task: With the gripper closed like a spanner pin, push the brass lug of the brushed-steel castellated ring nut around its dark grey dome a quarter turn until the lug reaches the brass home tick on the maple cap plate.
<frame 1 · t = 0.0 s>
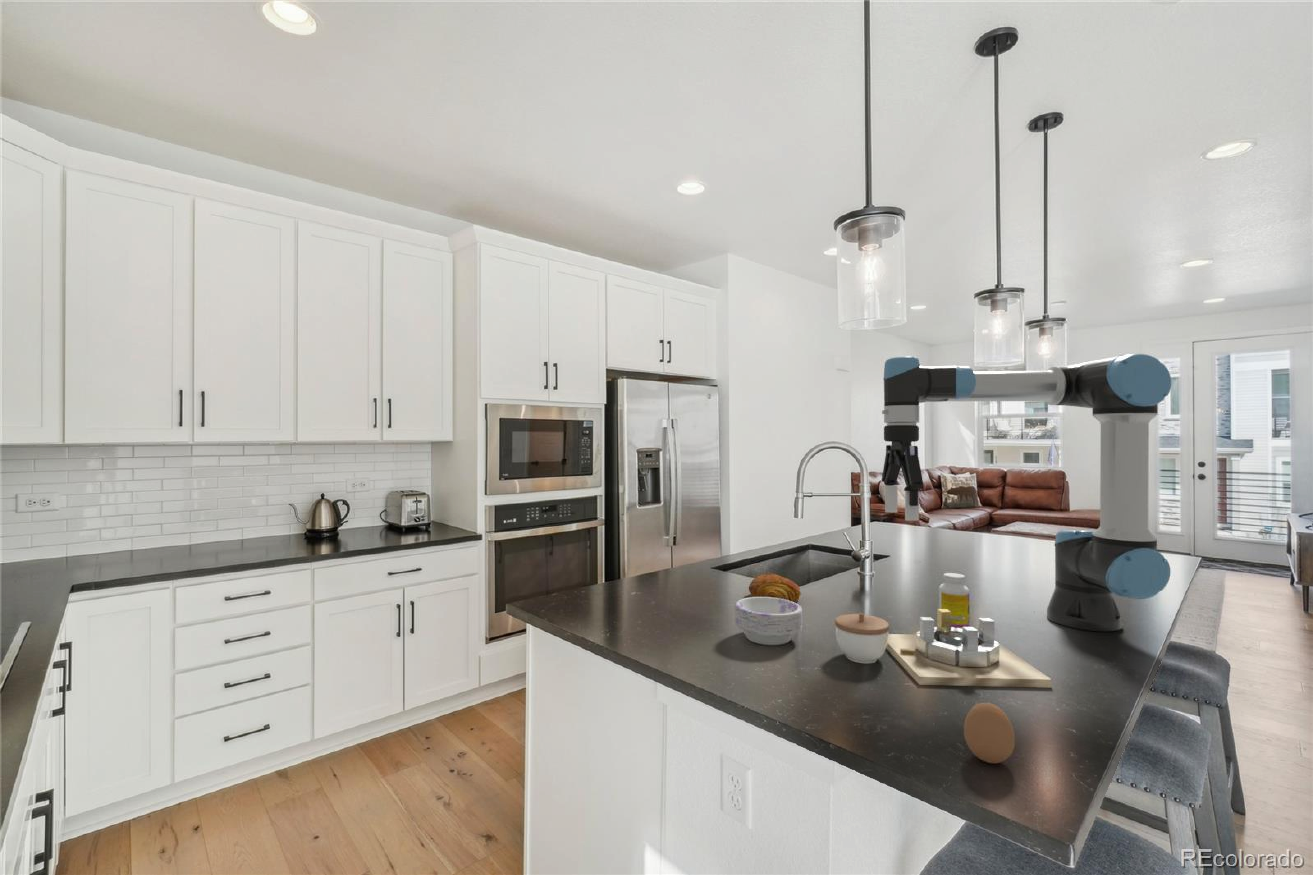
hand: (901, 516, 138), 28 cm above the counter, fingers open, 13 cm apart
dark grey dome: (956, 645, 123), point 3 cm above the counter
lidded jar: (861, 659, 125), on the counter
supplement bottle: (954, 628, 145), on the counter
egg: (988, 762, 86), on the counter
croissant: (774, 600, 170), on the counter
ring nut: (956, 636, 123), point 5 cm above the counter, hinge at 0.0°
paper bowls: (768, 639, 137), on the counter
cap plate: (956, 661, 123), on the counter
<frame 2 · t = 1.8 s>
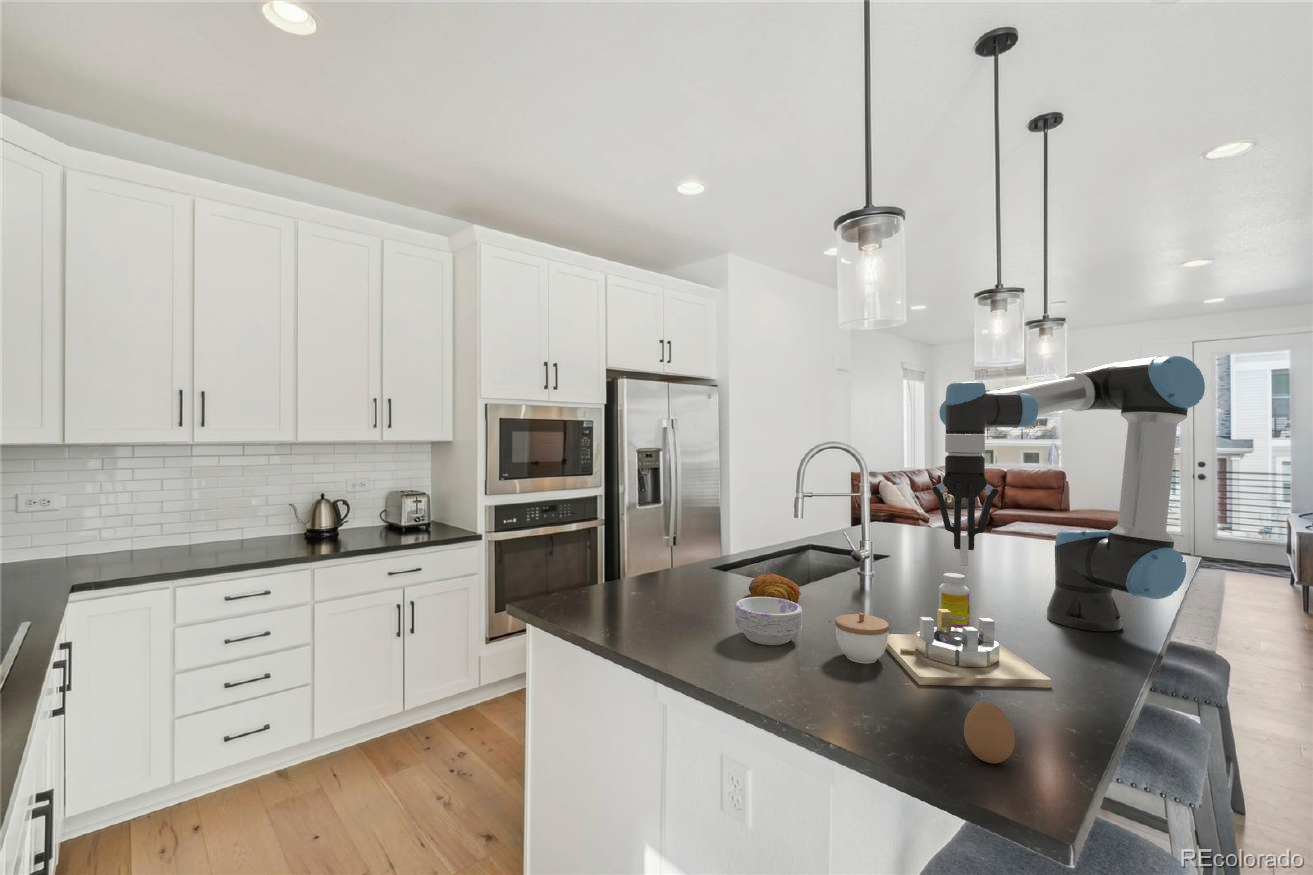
hand: (963, 564, 127), 19 cm above the counter, fingers closed
nothing on the counter moved.
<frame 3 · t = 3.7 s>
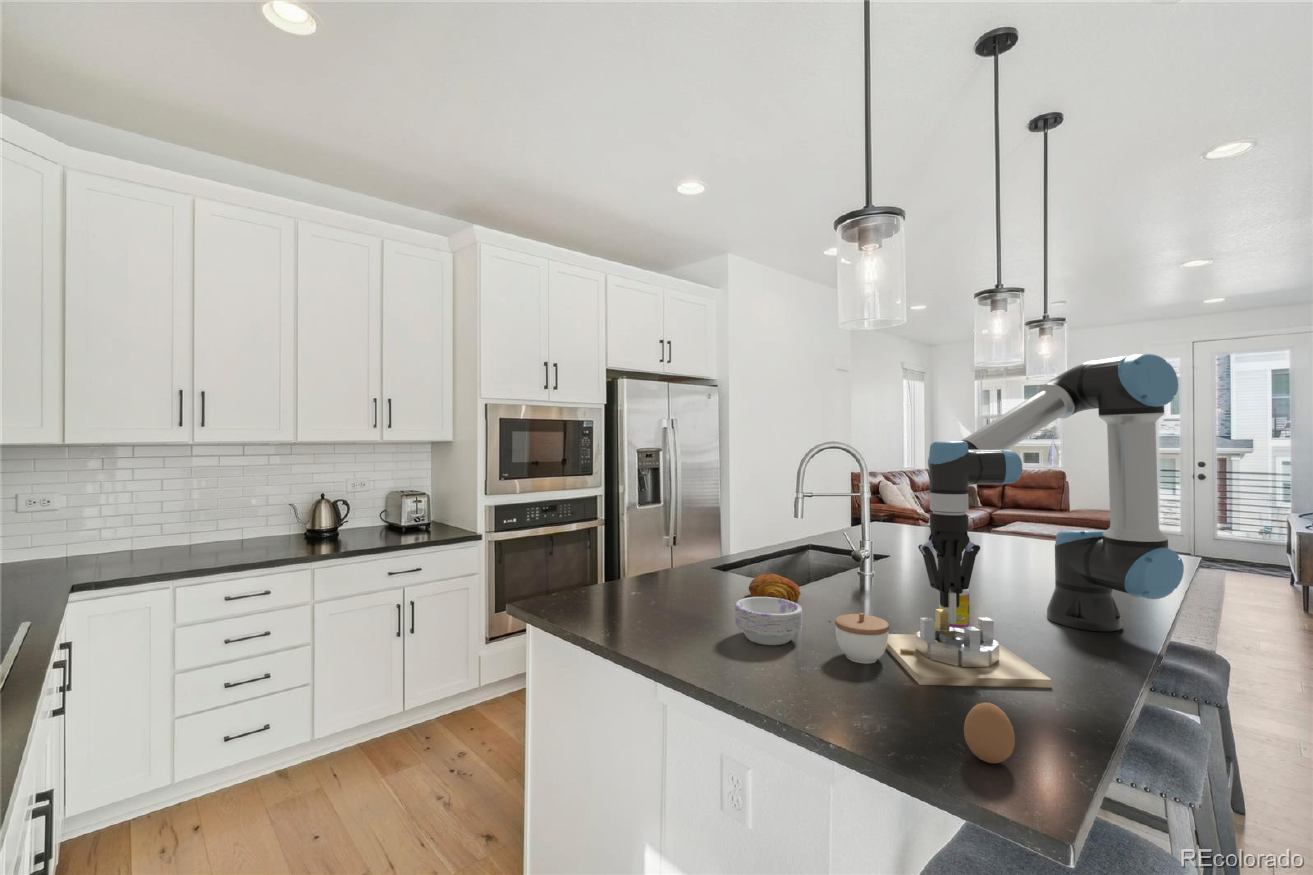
hand: (949, 621, 129), 7 cm above the counter, fingers closed
ring nut: (956, 636, 123), point 5 cm above the counter, hinge at 3.7°, touching gripper
everything else where it was.
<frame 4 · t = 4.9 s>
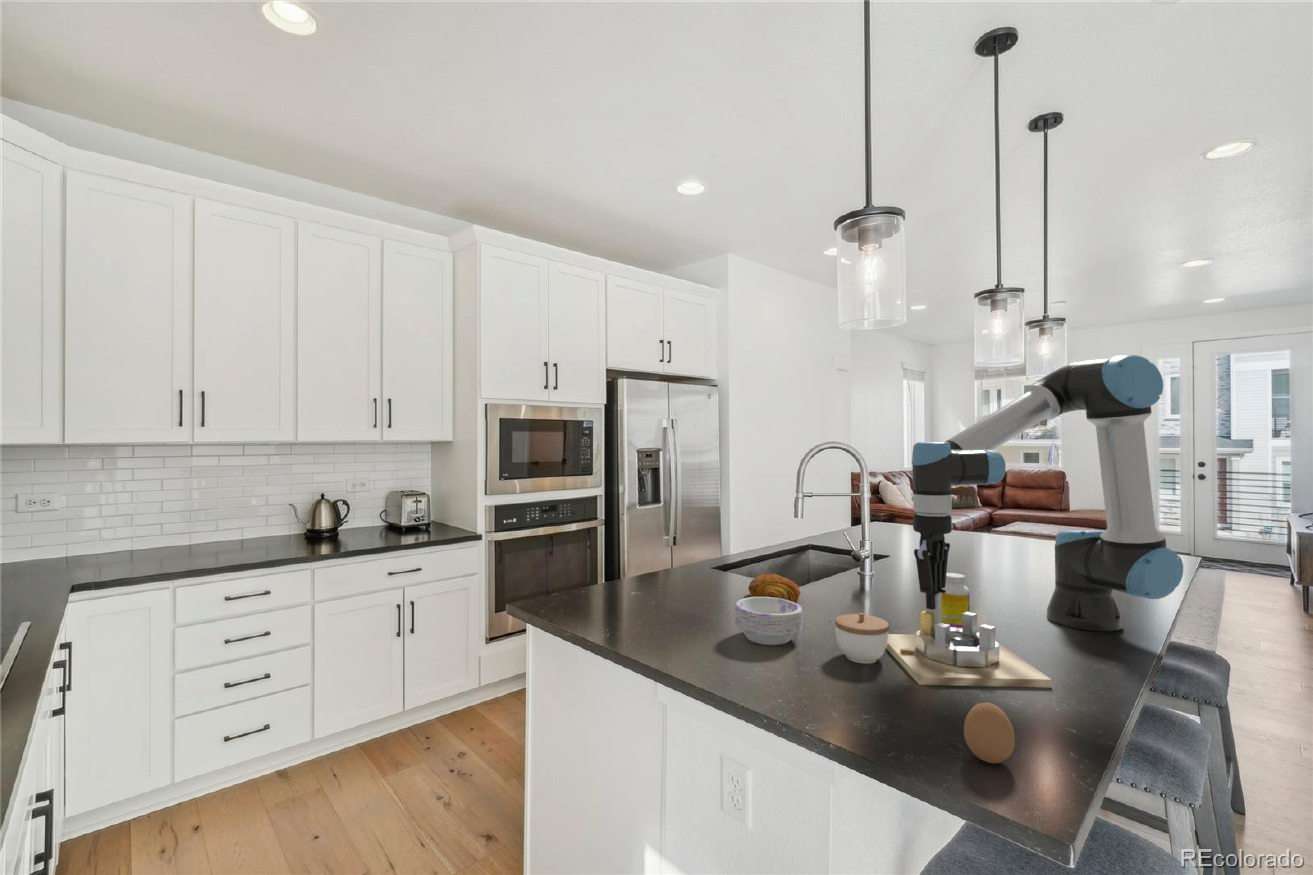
hand: (933, 623, 128), 6 cm above the counter, fingers closed
ring nut: (956, 636, 123), point 5 cm above the counter, hinge at 41.9°, touching gripper
everything else where it was.
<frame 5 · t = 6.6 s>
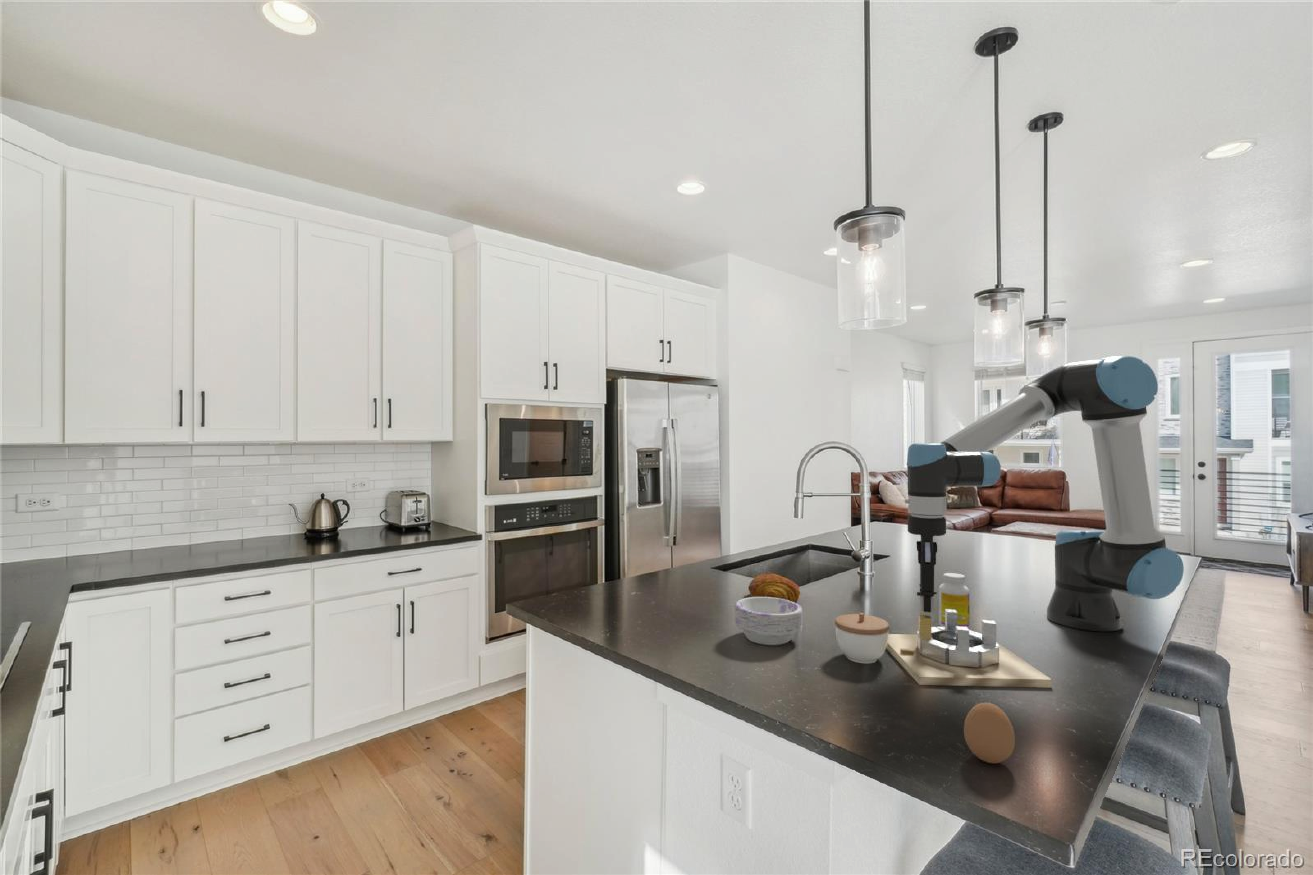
hand: (926, 625, 128), 6 cm above the counter, fingers closed
ring nut: (956, 636, 123), point 5 cm above the counter, hinge at 76.4°
everything else where it was.
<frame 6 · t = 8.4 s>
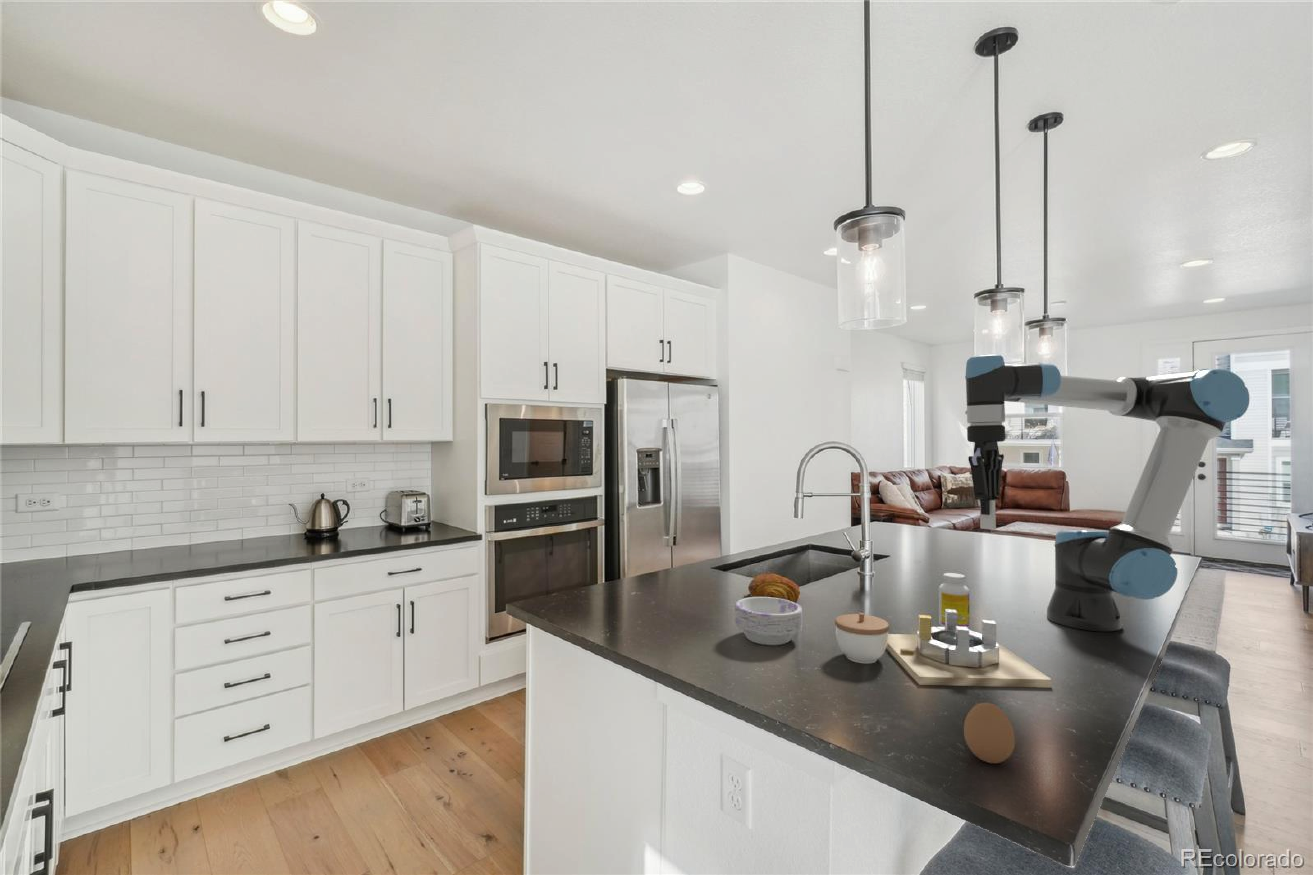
hand: (988, 528, 135), 26 cm above the counter, fingers closed
nothing on the counter moved.
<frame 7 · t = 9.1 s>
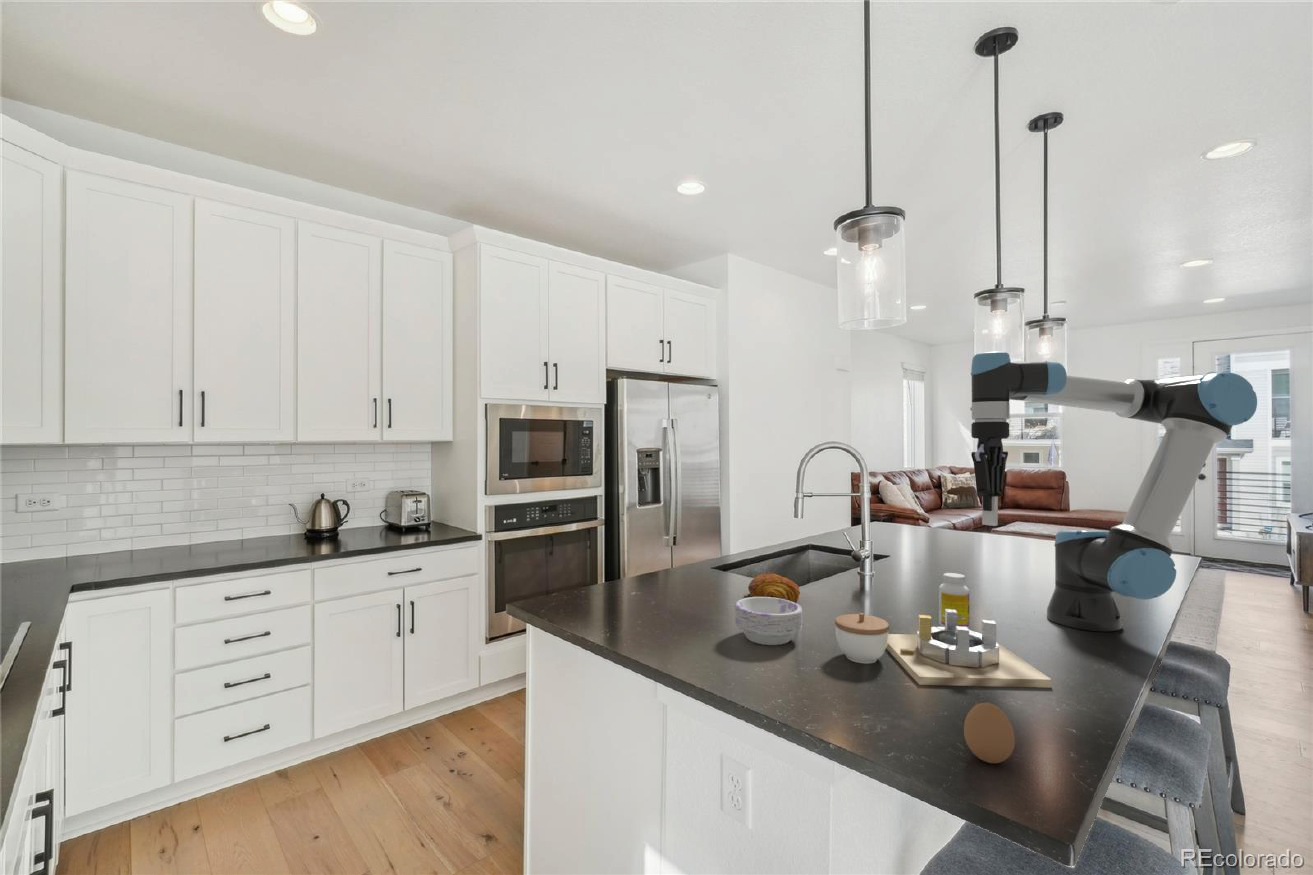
hand: (989, 524, 135), 26 cm above the counter, fingers closed
nothing on the counter moved.
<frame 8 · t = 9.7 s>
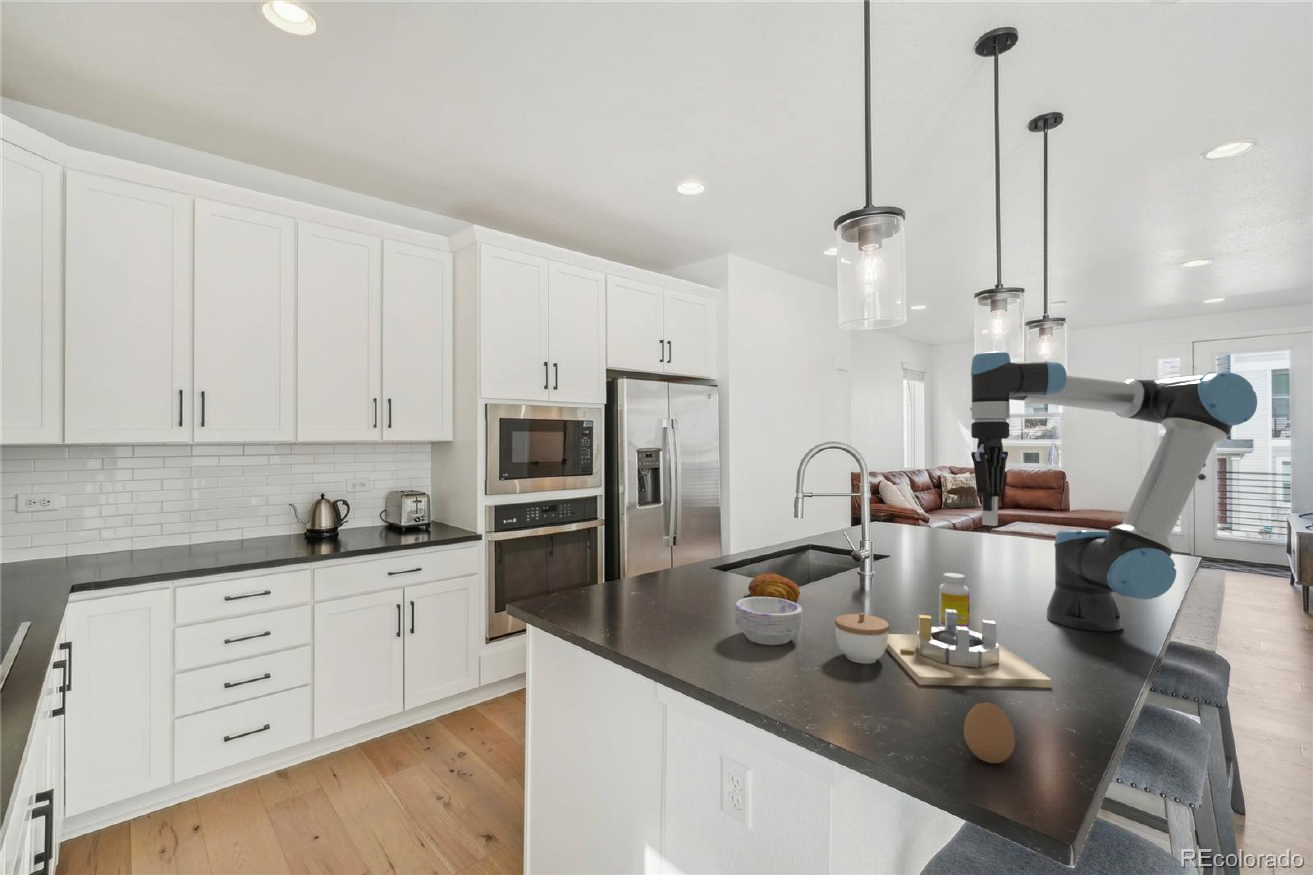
hand: (989, 524, 135), 26 cm above the counter, fingers closed
nothing on the counter moved.
at the end: ring nut at +76° (first picture: +0°) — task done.
